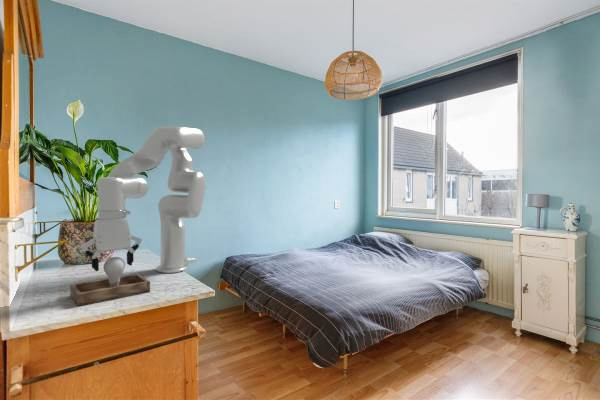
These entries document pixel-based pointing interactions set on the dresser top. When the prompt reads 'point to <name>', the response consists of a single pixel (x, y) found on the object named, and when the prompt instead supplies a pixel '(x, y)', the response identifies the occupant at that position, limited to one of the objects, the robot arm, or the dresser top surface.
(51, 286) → the dresser top surface
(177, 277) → the dresser top surface
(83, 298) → the walnut tray
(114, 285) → the lightbulb
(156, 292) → the dresser top surface
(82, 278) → the dresser top surface
